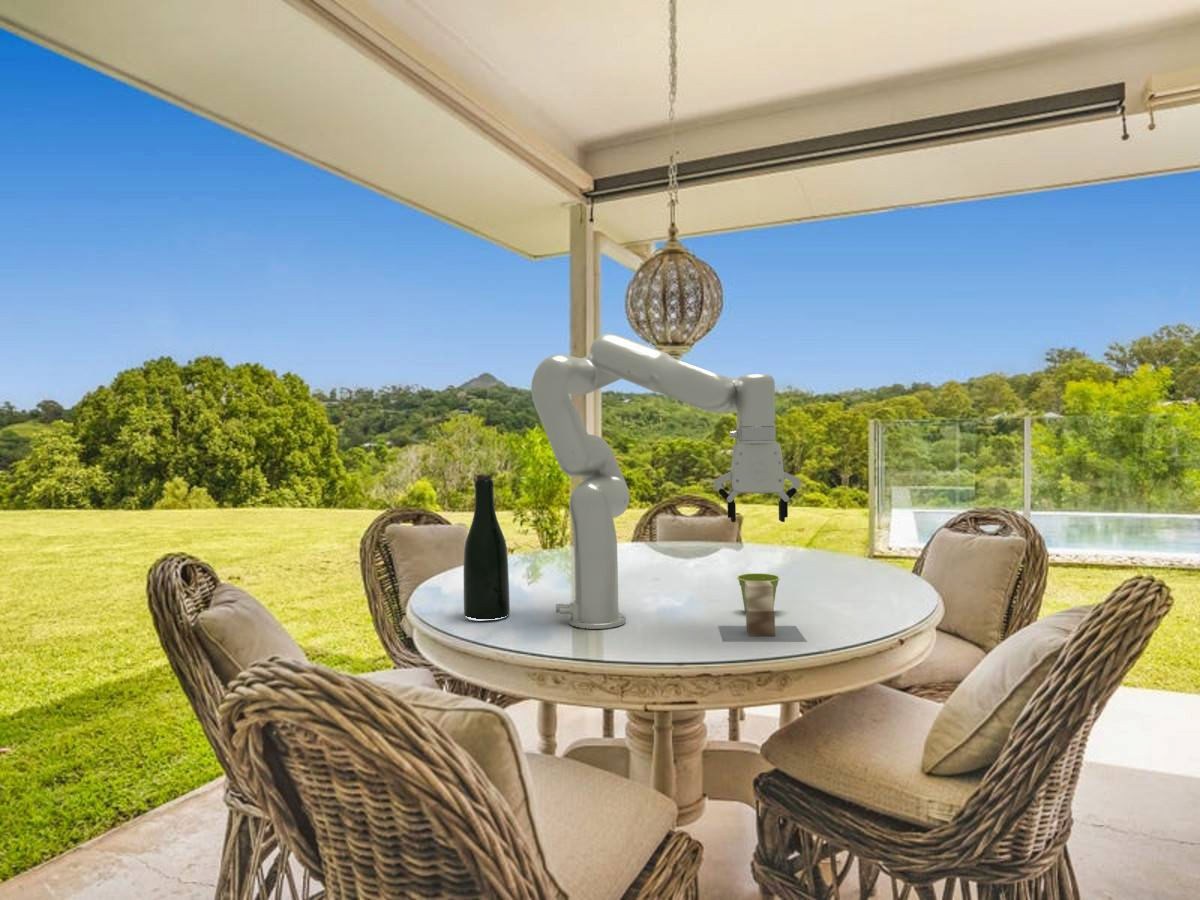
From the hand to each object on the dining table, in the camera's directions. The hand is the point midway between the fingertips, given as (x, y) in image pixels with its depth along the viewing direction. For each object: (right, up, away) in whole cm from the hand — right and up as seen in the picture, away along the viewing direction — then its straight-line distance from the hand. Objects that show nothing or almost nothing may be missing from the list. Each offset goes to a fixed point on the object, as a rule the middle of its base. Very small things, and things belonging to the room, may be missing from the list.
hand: (757, 521), depth 145 cm
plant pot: (+4, -23, +18) cm, 29 cm away
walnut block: (+1, -23, 0) cm, 23 cm away
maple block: (0, -18, 0) cm, 18 cm away
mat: (+1, -23, 0) cm, 23 cm away
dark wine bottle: (-58, -24, +21) cm, 66 cm away
